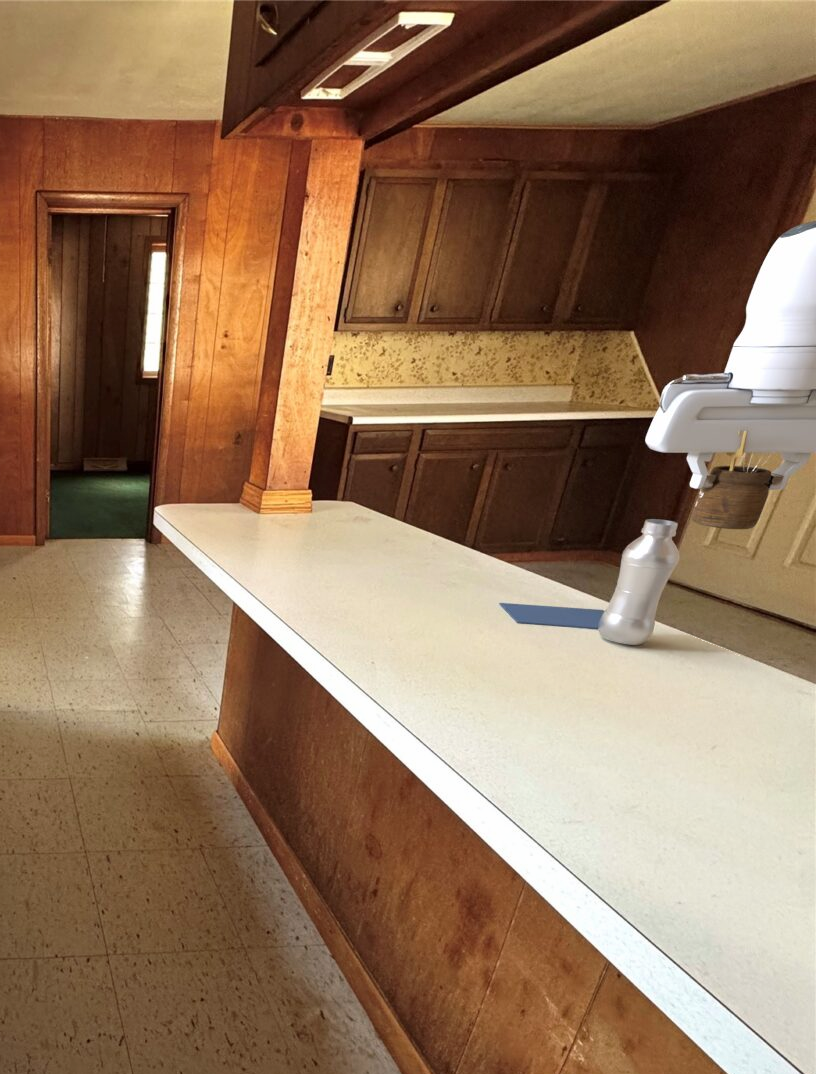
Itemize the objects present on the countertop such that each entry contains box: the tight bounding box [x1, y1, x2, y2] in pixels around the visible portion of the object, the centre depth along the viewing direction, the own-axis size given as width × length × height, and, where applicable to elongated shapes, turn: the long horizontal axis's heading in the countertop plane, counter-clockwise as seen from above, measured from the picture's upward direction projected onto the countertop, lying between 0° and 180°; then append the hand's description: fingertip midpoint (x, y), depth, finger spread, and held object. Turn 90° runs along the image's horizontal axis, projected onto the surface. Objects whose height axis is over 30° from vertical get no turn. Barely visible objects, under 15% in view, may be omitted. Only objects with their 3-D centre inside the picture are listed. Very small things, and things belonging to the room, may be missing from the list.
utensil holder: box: [691, 430, 773, 530], centre depth 82 cm, size 6×6×12 cm
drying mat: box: [498, 602, 605, 630], centre depth 117 cm, size 16×9×1 cm, turn 73°
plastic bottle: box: [597, 518, 681, 646], centre depth 104 cm, size 6×7×20 cm
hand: (735, 488), depth 82 cm, fingers closed on utensil holder, 5 cm apart
